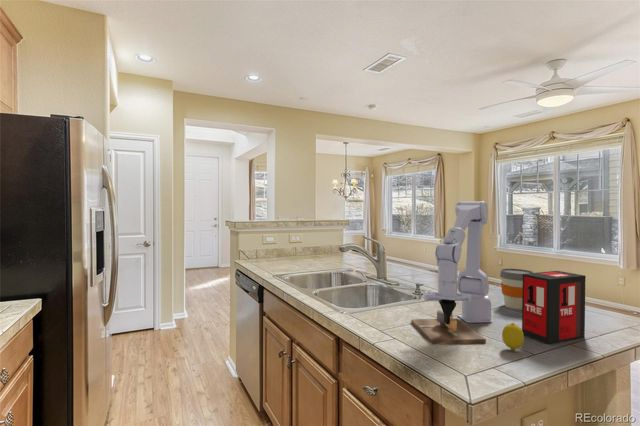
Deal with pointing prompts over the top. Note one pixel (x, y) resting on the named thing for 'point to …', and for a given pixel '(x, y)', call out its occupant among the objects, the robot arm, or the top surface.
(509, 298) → the reusable coffee cup
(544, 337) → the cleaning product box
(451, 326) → the orange and grey bar
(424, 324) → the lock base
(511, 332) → the lemon
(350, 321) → the top surface
